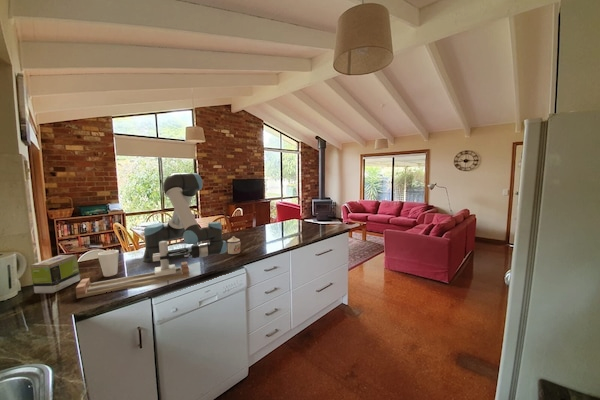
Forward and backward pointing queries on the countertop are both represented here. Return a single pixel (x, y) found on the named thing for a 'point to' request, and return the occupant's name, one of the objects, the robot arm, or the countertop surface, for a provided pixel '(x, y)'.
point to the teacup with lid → (233, 245)
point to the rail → (127, 282)
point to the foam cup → (109, 262)
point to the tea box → (55, 273)
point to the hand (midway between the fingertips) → (152, 257)
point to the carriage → (164, 262)
